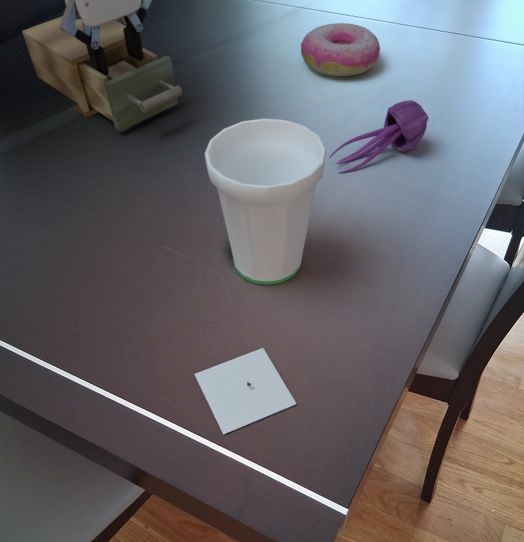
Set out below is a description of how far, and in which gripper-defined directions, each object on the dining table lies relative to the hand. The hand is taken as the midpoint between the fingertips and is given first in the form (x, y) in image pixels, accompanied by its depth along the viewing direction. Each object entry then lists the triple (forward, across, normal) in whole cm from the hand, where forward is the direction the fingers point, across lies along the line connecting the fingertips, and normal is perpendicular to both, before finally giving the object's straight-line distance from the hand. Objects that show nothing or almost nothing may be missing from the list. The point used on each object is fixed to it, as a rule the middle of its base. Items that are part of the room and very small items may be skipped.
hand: (118, 63), depth 87 cm
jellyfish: (+7, -18, +37) cm, 42 cm away
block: (+5, 0, 0) cm, 5 cm away
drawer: (+6, 0, +2) cm, 7 cm away
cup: (+7, +9, +42) cm, 44 cm away
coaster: (+7, +24, +54) cm, 59 cm away
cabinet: (+7, 0, -10) cm, 12 cm away
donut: (+7, -35, +15) cm, 39 cm away
